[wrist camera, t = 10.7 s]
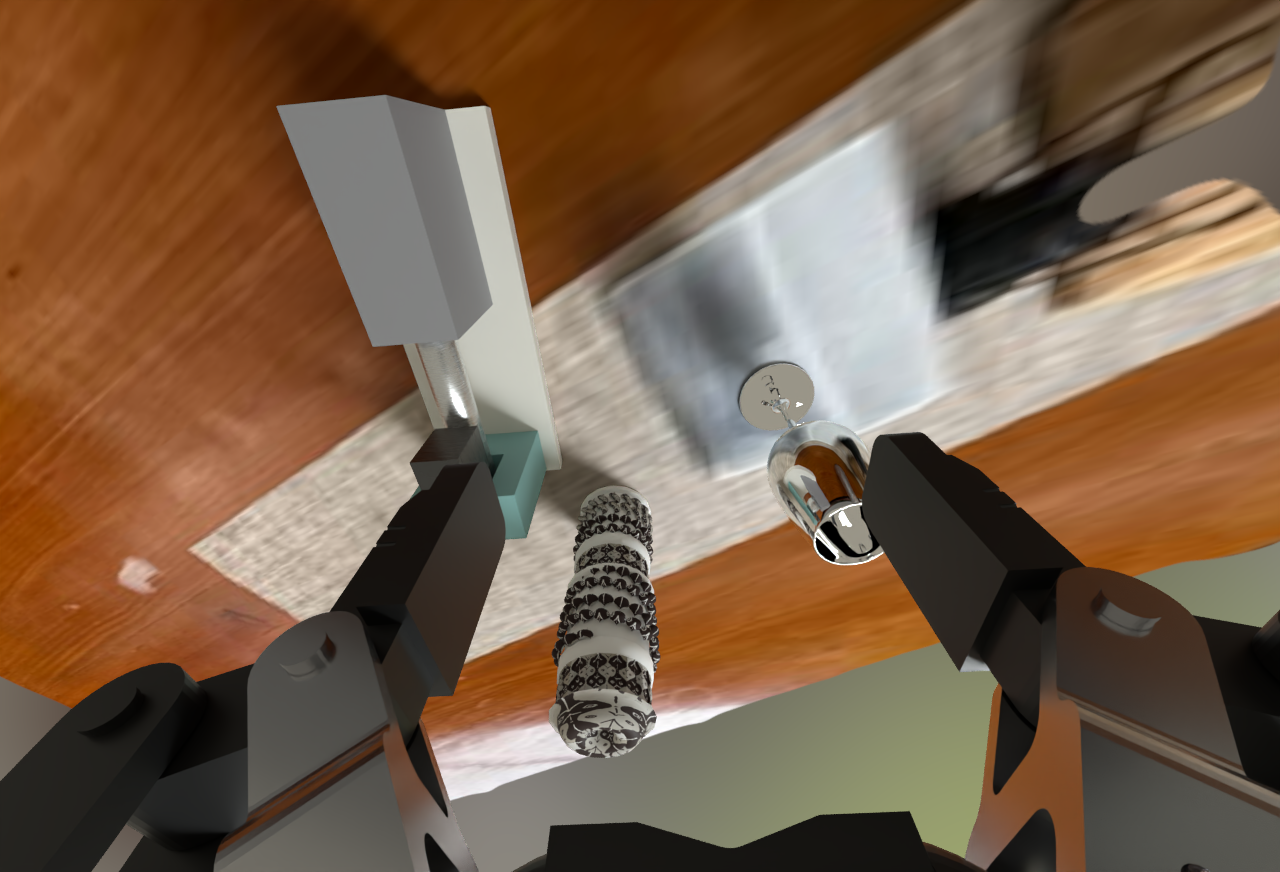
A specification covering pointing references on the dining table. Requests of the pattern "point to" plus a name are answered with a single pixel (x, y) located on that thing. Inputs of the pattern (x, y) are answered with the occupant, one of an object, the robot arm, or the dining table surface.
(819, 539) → the wineglass
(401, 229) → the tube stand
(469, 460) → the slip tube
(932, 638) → the dining table surface
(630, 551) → the decorative candle
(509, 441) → the socket
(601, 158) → the dining table surface
